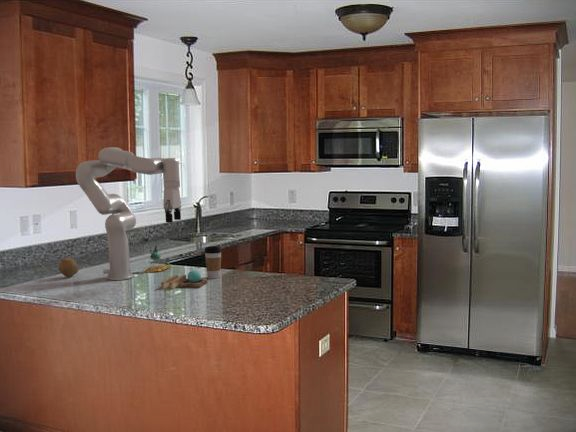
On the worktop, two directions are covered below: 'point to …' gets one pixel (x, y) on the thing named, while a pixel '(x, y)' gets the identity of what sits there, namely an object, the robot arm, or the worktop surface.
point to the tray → (192, 285)
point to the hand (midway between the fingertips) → (173, 221)
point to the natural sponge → (68, 267)
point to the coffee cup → (213, 261)
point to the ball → (194, 276)
